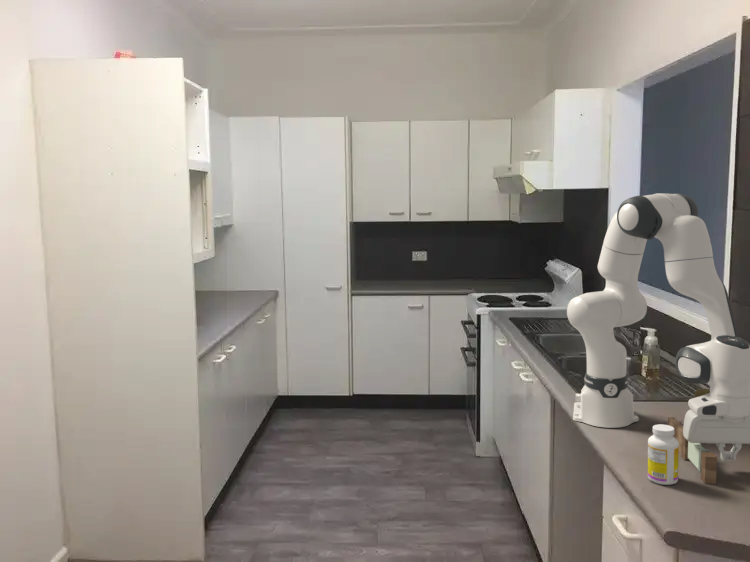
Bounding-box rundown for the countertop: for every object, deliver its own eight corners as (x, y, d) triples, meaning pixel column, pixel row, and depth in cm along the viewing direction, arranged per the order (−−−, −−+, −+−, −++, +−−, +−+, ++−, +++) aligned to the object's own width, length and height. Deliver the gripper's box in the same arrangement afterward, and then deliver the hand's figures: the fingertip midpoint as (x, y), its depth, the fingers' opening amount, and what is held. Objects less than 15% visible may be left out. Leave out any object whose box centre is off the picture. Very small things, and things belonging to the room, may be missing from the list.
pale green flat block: (686, 457, 166) (687, 436, 166) (694, 457, 166) (695, 436, 165) (700, 472, 158) (700, 450, 157) (708, 472, 157) (709, 450, 157)
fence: (665, 438, 182) (666, 415, 181) (675, 438, 182) (675, 415, 181) (704, 483, 154) (705, 456, 153) (716, 483, 154) (716, 456, 153)
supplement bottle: (669, 473, 160) (671, 422, 158) (683, 485, 153) (685, 431, 152) (642, 474, 160) (643, 423, 158) (654, 486, 153) (656, 433, 152)
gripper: (770, 400, 160) (767, 455, 162) (681, 400, 163) (679, 454, 165) (782, 408, 154) (780, 465, 156) (690, 408, 157) (689, 464, 158)
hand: (727, 459), depth 160 cm, fingers closed
